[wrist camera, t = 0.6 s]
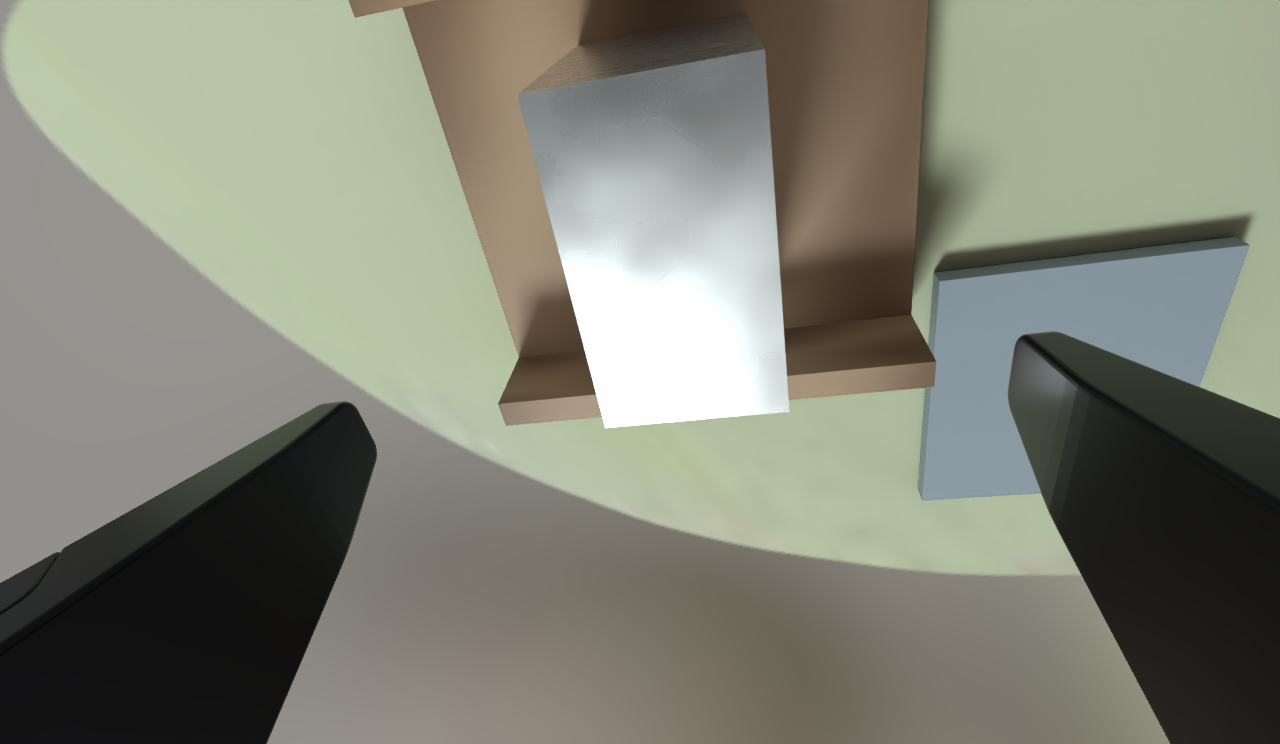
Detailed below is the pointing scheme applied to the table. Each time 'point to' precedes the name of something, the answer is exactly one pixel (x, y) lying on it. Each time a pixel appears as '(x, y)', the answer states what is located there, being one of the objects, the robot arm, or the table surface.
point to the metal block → (667, 218)
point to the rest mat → (1076, 306)
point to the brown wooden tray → (802, 168)
